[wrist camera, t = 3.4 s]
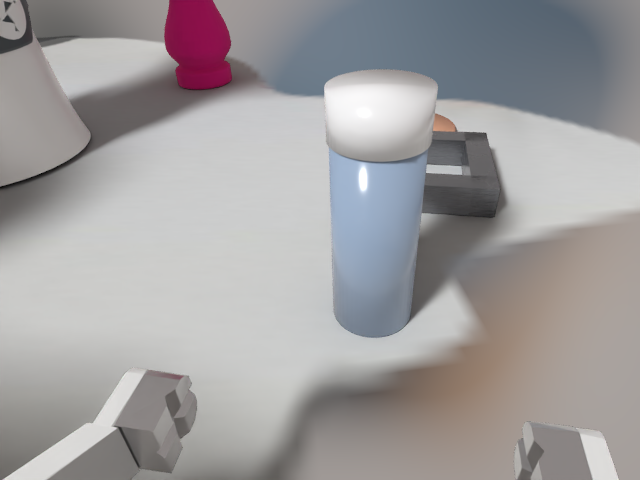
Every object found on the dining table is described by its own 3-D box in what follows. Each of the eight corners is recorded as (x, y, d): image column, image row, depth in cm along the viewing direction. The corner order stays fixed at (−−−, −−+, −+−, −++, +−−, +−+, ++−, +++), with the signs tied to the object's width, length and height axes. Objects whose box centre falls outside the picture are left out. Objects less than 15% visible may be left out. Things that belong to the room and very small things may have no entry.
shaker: (325, 333, 22) (314, 103, 15) (338, 278, 25) (334, 68, 18) (411, 343, 21) (439, 106, 15) (413, 285, 24) (437, 70, 18)
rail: (355, 270, 25) (355, 234, 24) (378, 150, 38) (379, 122, 36) (508, 284, 24) (518, 247, 23) (481, 154, 36) (486, 125, 35)
